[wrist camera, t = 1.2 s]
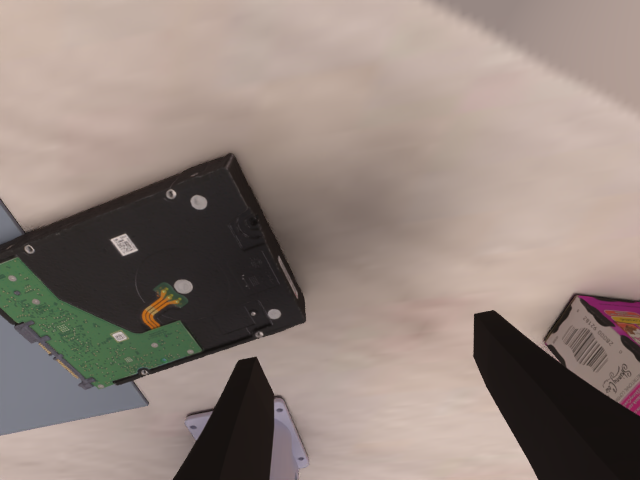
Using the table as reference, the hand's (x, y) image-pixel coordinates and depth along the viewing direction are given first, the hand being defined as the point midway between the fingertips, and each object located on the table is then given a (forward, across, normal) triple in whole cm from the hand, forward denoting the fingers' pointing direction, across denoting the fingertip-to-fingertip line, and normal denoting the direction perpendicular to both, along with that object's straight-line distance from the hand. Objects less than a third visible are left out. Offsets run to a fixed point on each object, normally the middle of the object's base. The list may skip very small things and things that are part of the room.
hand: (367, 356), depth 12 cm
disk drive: (+10, +11, +1) cm, 15 cm away
